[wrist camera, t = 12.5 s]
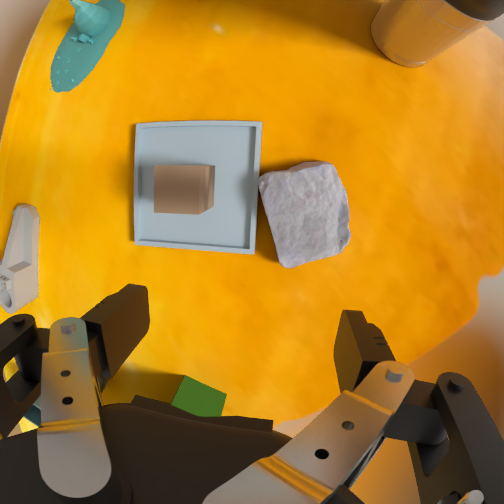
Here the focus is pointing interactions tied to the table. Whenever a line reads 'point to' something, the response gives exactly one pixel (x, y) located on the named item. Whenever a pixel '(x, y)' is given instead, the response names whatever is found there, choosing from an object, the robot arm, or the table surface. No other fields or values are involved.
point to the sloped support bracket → (20, 260)
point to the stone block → (306, 212)
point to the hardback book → (199, 398)
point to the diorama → (85, 42)
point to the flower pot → (34, 413)
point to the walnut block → (183, 188)
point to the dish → (225, 191)
